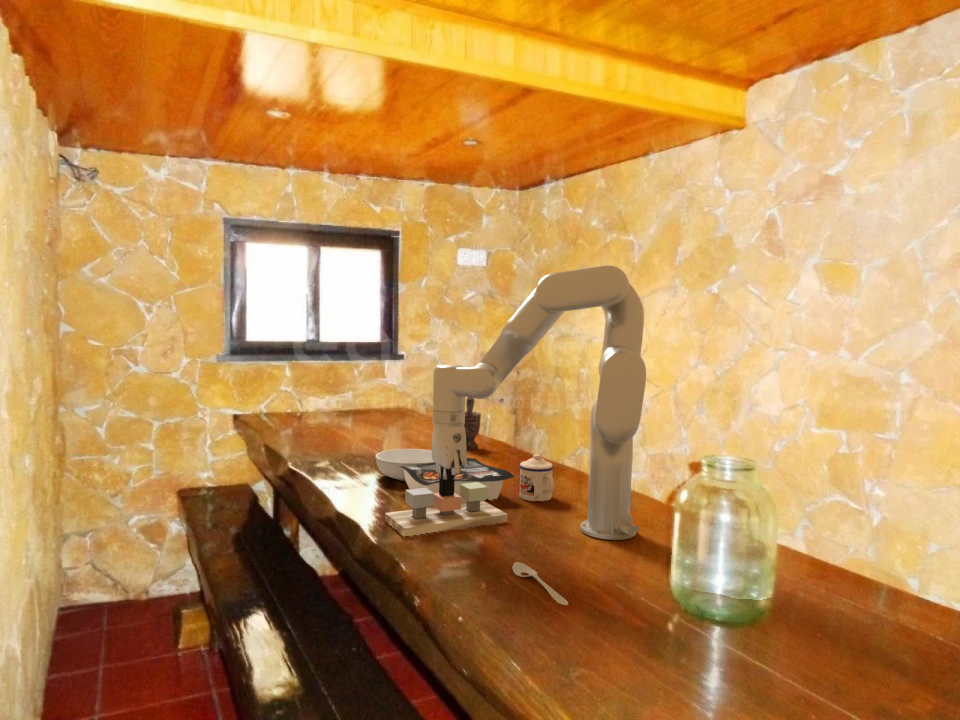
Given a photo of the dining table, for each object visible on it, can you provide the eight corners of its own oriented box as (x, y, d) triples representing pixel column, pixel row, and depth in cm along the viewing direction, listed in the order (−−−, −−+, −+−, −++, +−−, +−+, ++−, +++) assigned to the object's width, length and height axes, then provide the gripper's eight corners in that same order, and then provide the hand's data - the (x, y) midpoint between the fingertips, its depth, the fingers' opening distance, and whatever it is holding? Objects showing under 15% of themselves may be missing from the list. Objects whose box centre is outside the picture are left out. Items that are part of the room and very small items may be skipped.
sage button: (487, 510, 156) (487, 486, 156) (468, 513, 154) (469, 489, 153) (477, 505, 160) (478, 481, 160) (459, 507, 158) (459, 483, 158)
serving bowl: (455, 484, 189) (455, 460, 188) (383, 489, 181) (384, 464, 181) (433, 467, 208) (434, 446, 208) (368, 472, 201) (368, 449, 200)
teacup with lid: (512, 495, 178) (513, 453, 178) (539, 491, 183) (540, 450, 182) (537, 506, 168) (539, 462, 167) (565, 502, 173) (567, 459, 172)
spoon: (525, 568, 128) (525, 559, 128) (586, 612, 110) (586, 602, 110) (506, 571, 126) (506, 562, 126) (565, 616, 108) (566, 606, 108)
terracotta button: (460, 521, 153) (461, 496, 152) (441, 523, 151) (441, 499, 150) (451, 515, 157) (452, 491, 157) (432, 517, 155) (433, 493, 155)
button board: (507, 522, 155) (507, 514, 155) (404, 537, 143) (404, 528, 142) (483, 508, 165) (483, 500, 165) (385, 521, 153) (385, 512, 153)
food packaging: (426, 482, 161) (395, 463, 181) (425, 512, 161) (394, 490, 182) (514, 474, 172) (475, 456, 192) (513, 502, 173) (475, 481, 193)
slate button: (433, 518, 149) (434, 493, 149) (413, 520, 147) (413, 495, 147) (424, 511, 154) (425, 487, 153) (404, 514, 152) (405, 489, 151)
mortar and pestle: (487, 452, 234) (488, 396, 233) (465, 453, 230) (466, 397, 229) (474, 445, 245) (475, 392, 243) (452, 447, 241) (453, 393, 240)
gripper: (477, 422, 147) (475, 501, 149) (449, 412, 161) (447, 485, 162) (447, 423, 144) (445, 505, 145) (421, 413, 157) (419, 488, 158)
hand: (446, 495), depth 154 cm, fingers closed
